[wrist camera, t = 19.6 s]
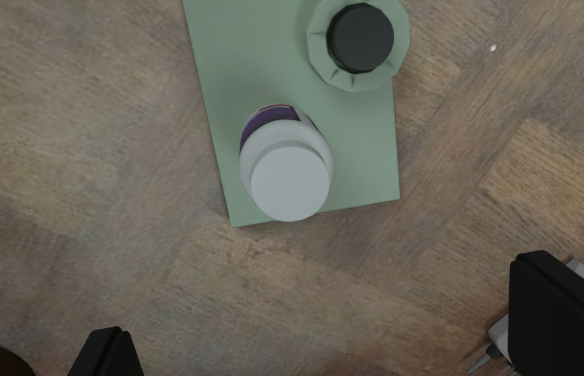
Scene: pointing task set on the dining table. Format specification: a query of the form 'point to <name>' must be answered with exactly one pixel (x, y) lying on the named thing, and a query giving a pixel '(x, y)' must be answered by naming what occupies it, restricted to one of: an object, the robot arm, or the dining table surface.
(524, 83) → the dining table surface
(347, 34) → the tare button
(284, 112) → the pill bottle
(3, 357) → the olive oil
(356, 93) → the green dial board
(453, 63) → the dining table surface
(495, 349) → the remote control
